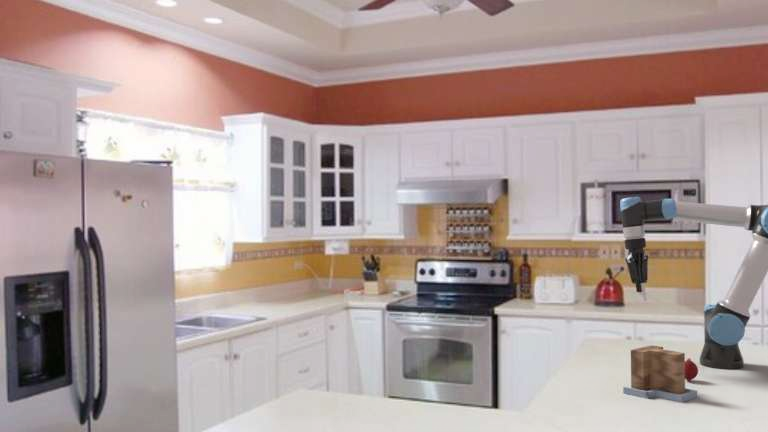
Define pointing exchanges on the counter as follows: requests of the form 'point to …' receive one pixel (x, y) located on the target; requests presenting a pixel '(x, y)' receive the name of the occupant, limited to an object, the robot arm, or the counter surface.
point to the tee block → (658, 369)
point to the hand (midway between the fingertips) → (641, 300)
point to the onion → (690, 370)
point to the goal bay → (661, 394)
